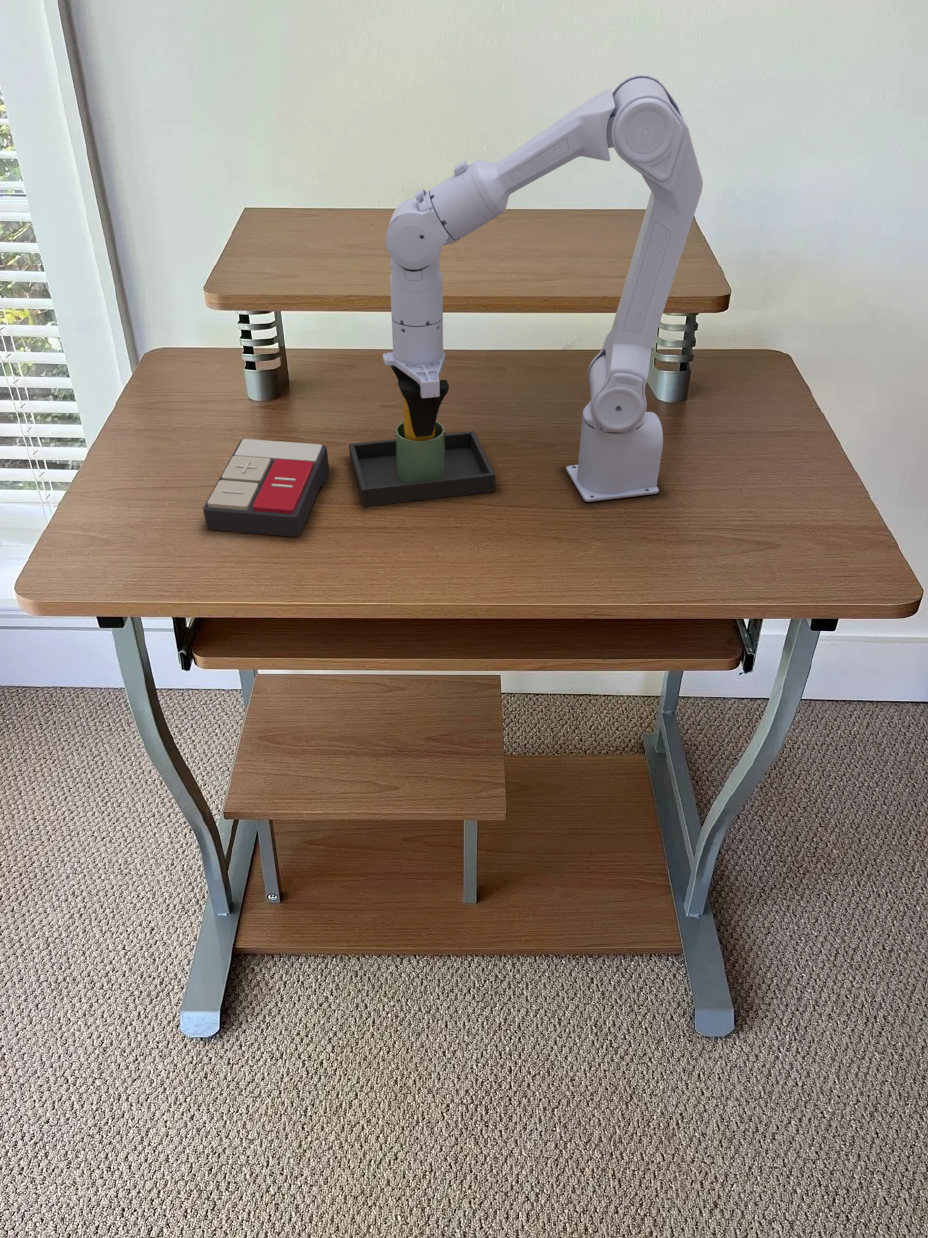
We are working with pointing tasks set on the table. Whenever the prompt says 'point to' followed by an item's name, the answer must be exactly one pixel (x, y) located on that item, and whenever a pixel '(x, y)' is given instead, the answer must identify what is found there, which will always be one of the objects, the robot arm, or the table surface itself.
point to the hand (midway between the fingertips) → (419, 426)
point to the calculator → (267, 488)
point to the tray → (461, 477)
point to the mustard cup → (408, 426)
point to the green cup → (420, 456)
